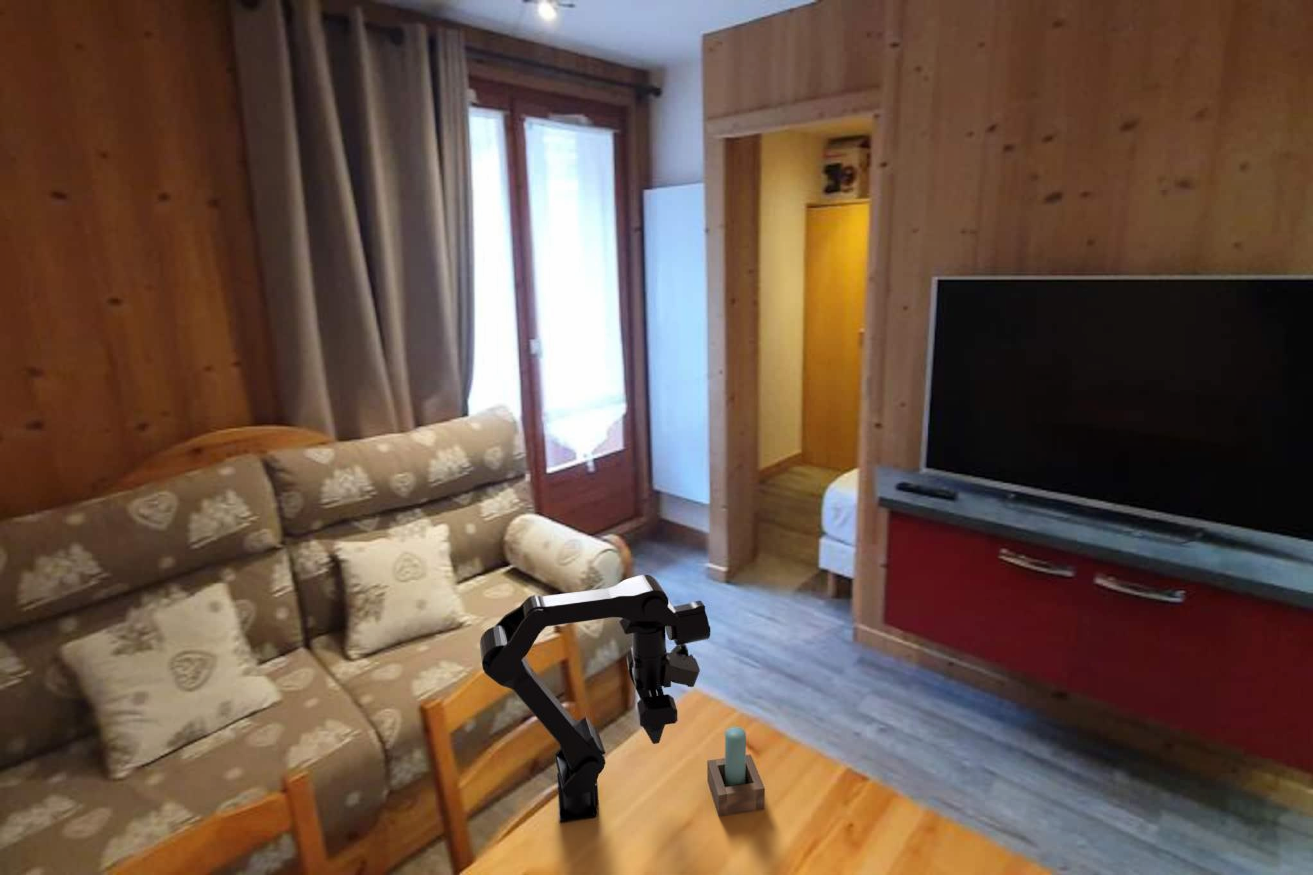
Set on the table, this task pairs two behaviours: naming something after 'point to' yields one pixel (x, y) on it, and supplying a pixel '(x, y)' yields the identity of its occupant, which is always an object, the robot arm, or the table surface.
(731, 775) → the teal cylinder rod
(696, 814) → the table surface
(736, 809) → the hole block
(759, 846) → the table surface
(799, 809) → the table surface
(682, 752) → the table surface
